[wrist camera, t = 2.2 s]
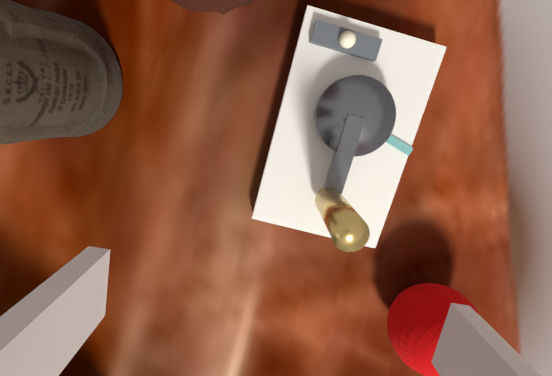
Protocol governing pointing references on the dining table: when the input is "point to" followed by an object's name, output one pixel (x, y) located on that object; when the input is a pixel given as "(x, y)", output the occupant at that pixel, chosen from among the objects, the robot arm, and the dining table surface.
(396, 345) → the ornament
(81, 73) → the beer stein
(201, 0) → the muffin
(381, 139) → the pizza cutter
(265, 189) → the stand
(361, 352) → the dining table surface
